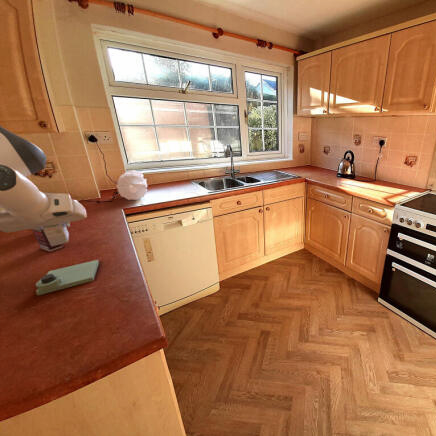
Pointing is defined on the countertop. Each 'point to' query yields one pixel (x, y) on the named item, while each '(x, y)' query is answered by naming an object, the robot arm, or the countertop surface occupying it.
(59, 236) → the medicine box
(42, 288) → the scale
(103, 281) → the countertop surface
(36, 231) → the supplement box
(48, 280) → the tare button
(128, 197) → the crumpled paper ball
